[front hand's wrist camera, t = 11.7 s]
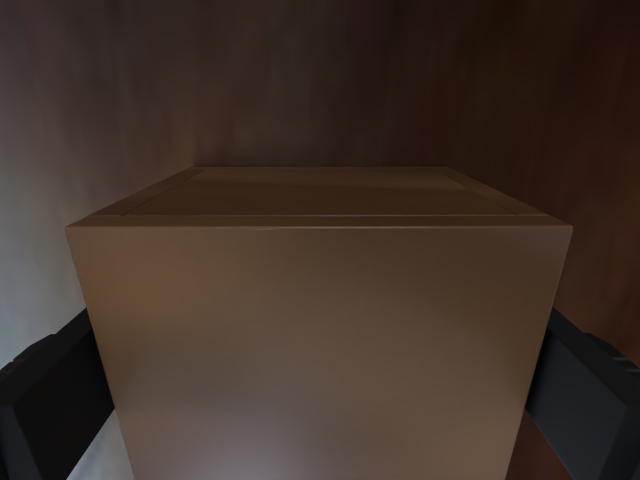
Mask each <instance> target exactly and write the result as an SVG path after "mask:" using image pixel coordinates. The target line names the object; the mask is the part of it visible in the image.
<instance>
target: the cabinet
mask: <svg viewBox="0 0 640 480" xmlns="http://www.w3.org/2000/svg"><path fill="white" fill-rule="evenodd" d="M573 229H574V228H573V226H572V225H570V224H568V223H566V222H564V221H561V220H559V219H557V218H555V217H553V216H549V215H548V214H546V213H544V212H542V211H540V210H538V209H536V208H533V207H531V206H529V205H527V204H525V203H523V202H521V201H519V200H517V199H515V198H512V197H510V196H508V195H506V194H504V193H502V192H500V191H498V190H496V189H494V188H491V187H489V186H487V185H485V184H483V183H481V182H479V181H477V180H475V179H473V178H470V177H468V176H466V175H464V174H462V173H460V172H458V171H456V170H454V169H452V168H450V167H448V166H307V167H191V168H188V169H186V170H184V171H182V172H179V173H177V174H175V175H173V176H171V177H169V178H167V179H165V180H163V181H160V182H158V183H156V184H154V185H152V186H150V187H148V188H146V189H144V190H141V191H139V192H137V193H135V194H133V195H131V196H129V197H127V198H124V199H122V200H120V201H118V202H116V203H114V204H112V205H110V206H108V207H105V208H103V209H101V210H99V211H97V212H95V213H93V214H91V215H89V216H87V217H85V218H83V219H81V220H79V221H77V222H75V223H72V224H70V225H68V226H66V227H65V232H66V236H67V239H68V243H69V246H70V250H71V254H72V257H73V261H74V264H75V268H76V271H77V275H78V278H79V282H80V286H81V289H82V293H83V296H84V300H85V303H86V307H87V311H88V314H89V318H90V321H91V325H92V328H93V332H94V336H95V339H96V343H97V346H98V350H99V353H100V357H101V360H102V364H103V368H104V371H105V375H106V378H107V382H108V385H109V389H110V393H111V396H112V400H113V403H114V407H115V410H116V414H117V418H118V421H119V425H120V428H121V432H122V435H123V439H124V442H125V446H126V450H127V453H128V457H129V460H130V464H131V467H132V471H133V475H134V478H135V480H505V477H506V474H507V470H508V466H509V463H510V459H511V455H512V452H513V448H514V444H515V441H516V437H517V433H518V430H519V426H520V422H521V419H522V415H523V412H524V408H525V404H526V401H527V397H528V393H529V390H530V386H531V382H532V379H533V375H534V371H535V368H536V364H537V360H538V357H539V353H540V350H541V346H542V342H543V339H544V335H545V331H546V328H547V324H548V320H549V317H550V313H551V309H552V306H553V302H554V298H555V295H556V291H557V288H558V284H559V280H560V277H561V273H562V269H563V266H564V262H565V258H566V255H567V251H568V247H569V244H570V240H571V236H572V233H573Z"/></svg>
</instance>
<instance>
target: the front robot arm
mask: <svg viewBox="0 0 640 480" xmlns="http://www.w3.org/2000/svg"><path fill="white" fill-rule="evenodd" d="M114 409H115V407H114V403H113V400H112V396H111V393H110V389H109V385H108V382H107V378H106V375H105V371H104V368H103V364H102V360H101V357H100V353H99V350H98V346H97V343H96V339H95V336H94V332H93V328H92V325H91V321H90V318H89V314H88V311H87V307H86V308H85V309H84V310H83V311H82V312H81V313H79V314H78V315H77V316H76V317H75V318H74V319H72V320H71V321H70V322H69V323H68V324H67V325H65V326H64V327H63V328H62V329H61V330H60V331H58V332H57V333H56V334H50V335H49V336H47V337H45V338H43V339H41V340H39V341H38V342H36V343H34V344H32V345H30V346H29V347H28V348H26V349H25V350H24V351H23V352H22V353H20V354H19V355H18V356H17V357H16V358H14V359H13V362H9V363H8V364H7V365H6V366H5V367H3V368H2V369H1V370H0V480H66V479H67V478H68V476H69V475H70V473H71V472H72V470H73V469H74V467H75V466H76V464H77V463H78V461H79V460H80V459H81V457H82V456H83V454H84V453H85V451H86V450H87V448H88V447H89V445H90V444H91V442H92V441H93V439H94V438H95V436H96V435H97V434H98V432H99V431H100V429H101V428H102V426H103V425H104V423H105V422H106V420H107V419H108V417H109V416H110V414H111V413H112V411H113V410H114ZM525 409H526V410H527V411H528V413H529V414H530V416H531V417H532V419H533V420H534V422H535V423H536V425H537V426H538V428H539V429H540V431H541V432H542V434H543V435H544V437H545V438H546V439H547V441H548V442H549V444H550V445H551V447H552V448H553V450H554V451H555V453H556V454H557V456H558V457H559V459H560V460H561V462H562V463H563V464H564V466H565V467H566V469H567V470H568V472H569V473H570V475H571V476H572V478H573V479H574V480H640V368H639V367H638V366H636V365H635V364H634V363H633V362H631V361H628V360H627V357H625V356H624V355H623V354H622V353H620V352H619V351H618V350H617V349H616V348H614V347H613V346H612V345H611V344H609V343H607V342H605V341H603V340H601V339H600V338H598V337H596V336H594V335H592V334H590V333H583V332H582V331H580V330H579V329H578V328H577V327H576V326H575V325H573V324H572V323H571V322H570V321H569V320H568V319H566V318H565V317H564V316H563V315H562V314H561V313H559V312H558V311H557V310H556V309H555V308H554V307H552V309H551V313H550V317H549V320H548V324H547V328H546V331H545V335H544V339H543V342H542V346H541V350H540V353H539V357H538V360H537V364H536V368H535V371H534V375H533V379H532V382H531V386H530V390H529V393H528V397H527V401H526V404H525Z"/></svg>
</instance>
